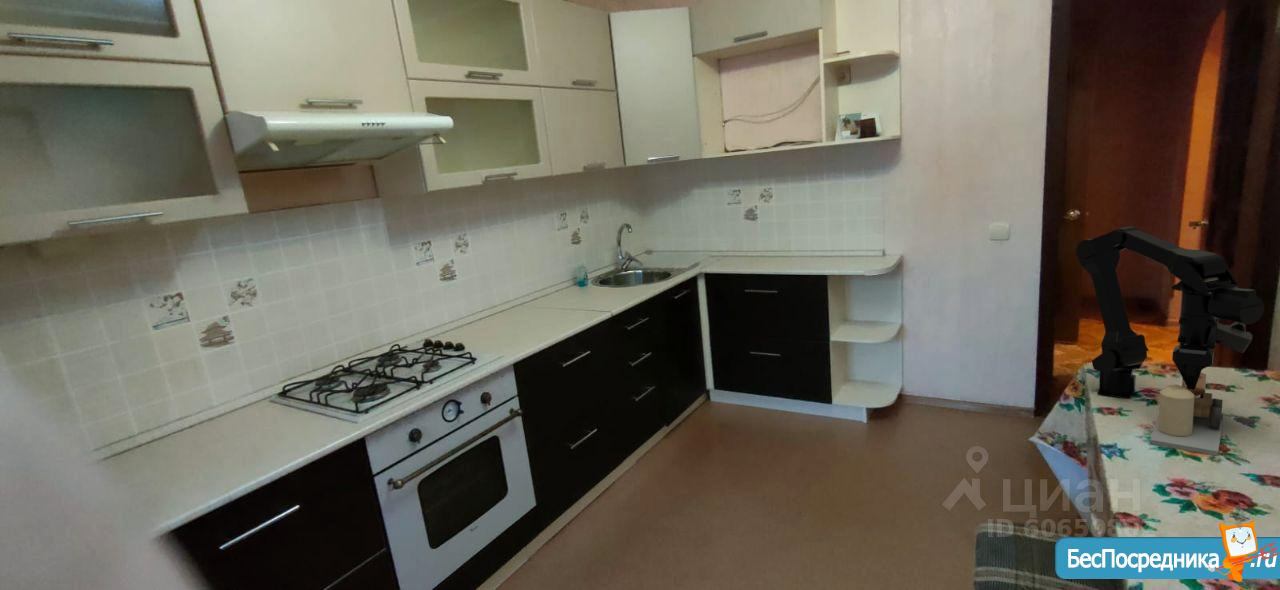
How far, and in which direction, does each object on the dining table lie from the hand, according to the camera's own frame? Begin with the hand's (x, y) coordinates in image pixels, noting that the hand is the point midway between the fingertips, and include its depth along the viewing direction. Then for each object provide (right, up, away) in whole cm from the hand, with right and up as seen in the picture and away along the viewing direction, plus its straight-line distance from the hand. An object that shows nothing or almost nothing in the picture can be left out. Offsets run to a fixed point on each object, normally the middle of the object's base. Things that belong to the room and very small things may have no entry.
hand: (1193, 382), depth 136 cm
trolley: (0, -9, +1) cm, 9 cm away
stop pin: (+1, -7, +1) cm, 7 cm away
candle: (-7, -10, -3) cm, 13 cm away
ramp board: (-4, -10, -3) cm, 12 cm away
